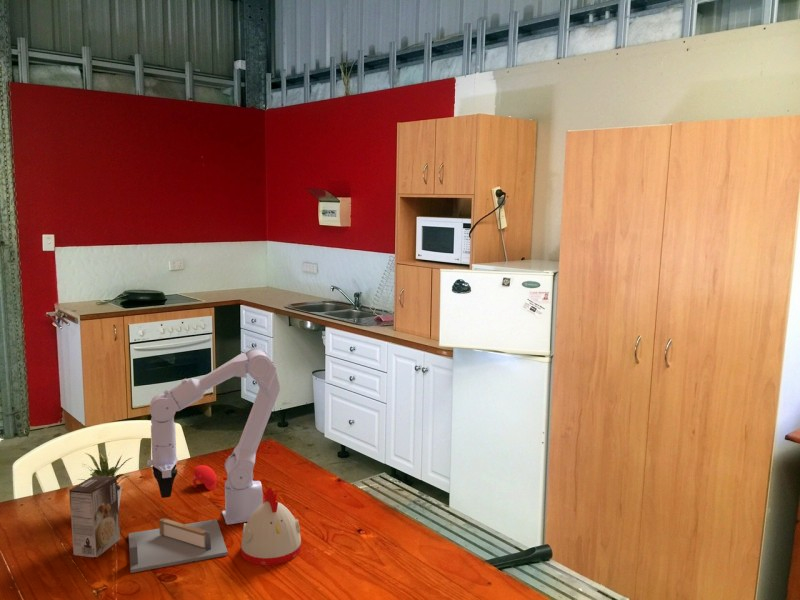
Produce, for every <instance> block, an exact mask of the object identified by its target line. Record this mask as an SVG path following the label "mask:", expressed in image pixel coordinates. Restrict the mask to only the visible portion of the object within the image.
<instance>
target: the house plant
mask: <svg viewBox="0 0 800 600" xmlns="http://www.w3.org/2000/svg"><path fill="white" fill-rule="evenodd" d="M110 453H111V452H109V454H108V456H107V457H105V456H104V455H103V454H101V453H100V452H98V457H99V465H98V463H97V461H96V459H95V457H94V456H93V455H91V454H90V453H86V452H84V454H86V455H88V457H90V459H91V461H92V462H93V464H94V466H95V468H96V469H95V468H94V469H93V468H92V466H89V468H90V469H89V468H88V467H87V469H88V470H90V472H91V473H90V474H89V475H90V477H92V476H94V475H95V476H108V477H117V480H118V481H117V493H118V510H120V502H121V494H122V485H120V484H119V483H120V482H121V481H122V480H124V479H125V478H130V476H129V475H126V474H125V473H119V474H117V472H118V471H119V470H120V469H121V468H122V466H124V465H125V464H126V463H127V461H129V460H132V459H133V458H134V457H129V458H127V459H126V460H125V461H124V462H123V463H122V464H121V465H119V463H120V461H121V460H122V459H121V458H122V456H123V454H121V456H120V457H119V458H118V460H117V462H116V464H115V466H111V467H110V468H109V464H108V463H109V462H108V460H109V456H110ZM83 465H84V466H83V467H85V466H86V464H84V463H83ZM118 466H119V467H118ZM85 468H86V467H85ZM116 474H117V475H116ZM123 476H124V477H123ZM120 477H122V478H121V479H120V480H119V478H120ZM77 480H79V481H82V480H83V481H85V479H82V478H79V479H78V478H77Z"/></svg>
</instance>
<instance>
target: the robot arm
mask: <svg viewBox="0 0 800 600" xmlns="http://www.w3.org/2000/svg"><path fill="white" fill-rule="evenodd" d="M247 374H248V375H249V376H250V377H251V378H252V379H253V380H254V381H255V382H256V384H257V386H258V388H259V389H258V392H257V394H256V396H255V398H254V399H255V400H254V401H253V405H252V407H251V410H250V412H249V415H248V418H247V421H246V422H245V426H244V428H243V431H242V433H241V436H240V439H239V441H238V444H236V446H235V447H234V449H233V451H232V453H231V454H230V455H229V456H228V457H227V458H226V460H225V462H224V470H225V472H226V474H227V475H226V476H227V478H226V480H225V482H224V502H225V503H224V504H225V505H224V508H225V510H222V511H221V513H222V517H223V519H224V522H225V524H226V525H233V524H234V525H235V524H239V523H240V524H241V523H246V522H248V520H249V518H250V516H251V515H252V513H253V512H254V511H255V510H256V509H257V508H258V507H259V506H260V505H261V504H263V503H264V492H263V486H262V482H261V481H260V480H253V479H254V471H253V470H254V467H255V463H256V455H257V451H258V447H259V446H260V443H261V440H262V437H263V436H264V433H265V430H266V427H267V424H268V422H269V419H270V417H271V415H272V412H273V408H274V406H275V403H276V401H277V398H278V395H279V393H280V389H281V388H280V387H281V385H280V383H279V382H280V381H279V377H278V373H277V367H276V366H275V364H274V363H273V361H272V360H271V359H270V358H269V356H268V354H267V353H266V352H265V351H264V350H263V349H261V348H258V347H256V348H255V347H254V348H251V349H249V350H247V351H246V352H242V353H240V354H238V355H236V356H235V357H233V358H232V359H230V360H228V361H227V362H225V363H223V364H222V365H220V366H219V367H217V368H215V369H213V370H212V371H210V372H209V373H206V375H203V377H201V378H198V379H197V378H193V377H191V378H189V379H187V378H184V379H182V380H181V383H180V384H177V386H176V385H175V386H174V387H172V388H171V389H165V390H164V391H163V393H159V394H155V395H154V396H153V397H152V399H151V401H150V403H149V413H150V417H151V418H150V423H151V426H150V439H151V440H150V441H151V459H148V460H147V466H148V467H150V466H151V468H152V474H153V477H154V478H155V481H156V482H157V484H158V488H159V492H160V497H161V498H162V499H164V498H171V496H172V493H173V485H174V482H175V479H176V477H177V476H178V475H177V474H178V468H177V464H178V457H177V438H176V436H177V433H176V423H175V415H176V412H180V411H182V410H183V409H185V408H187V407H189V406H191V405H193V404H195V403H196V402H198V401H199V400H202V399H203V398H204V396H205V395H204V394H205V392H206V391H207V390H210V389H211V388H213V387H215V386H218V385H220V384H222V383H224V382H225V381H227V380H230V379H231V378H234V377H236V378H237V377H238V378H244V379H245V378H246V379H247V378H248V376H247ZM176 468H177V469H176Z"/></svg>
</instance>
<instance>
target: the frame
mask: <svg viewBox="0 0 800 600" xmlns="http://www.w3.org/2000/svg"><path fill="white" fill-rule="evenodd" d="M185 525H189V526H192V527H196V528H199V529H202V530H206V532H205V546H206V547H200V546H197V545H194V544H191V543H188V542H184V541H181V540H178V539H175V538H171V537H168V536H165V535H160V528H155V529H148V530H142V531H135V532H131V533H130V532H129V533H128V546H129V547H128V548H129V550H128V551H129V567H130V570H129V571H130V574H132V573H137V572H138V573H139V572H143V571H144V572H145V571H149V570H153V569H154V570H155V569H160V568H166V567H172V566H177V565H182V564H188V563H194V562H198V561H204V560H210V559H215V558H219V557H224V556H225V557H226V556H229V555H228V554H229V553H228V552H229V551H228V549H227V546H226V542H225V541H224V540H225V539H224V537H223V534H222V531H221V528H220V525H219V521H218V519H216V518H215V519H209V520H204V521H196V522H191V523H185ZM193 561H194V562H193Z"/></svg>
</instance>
